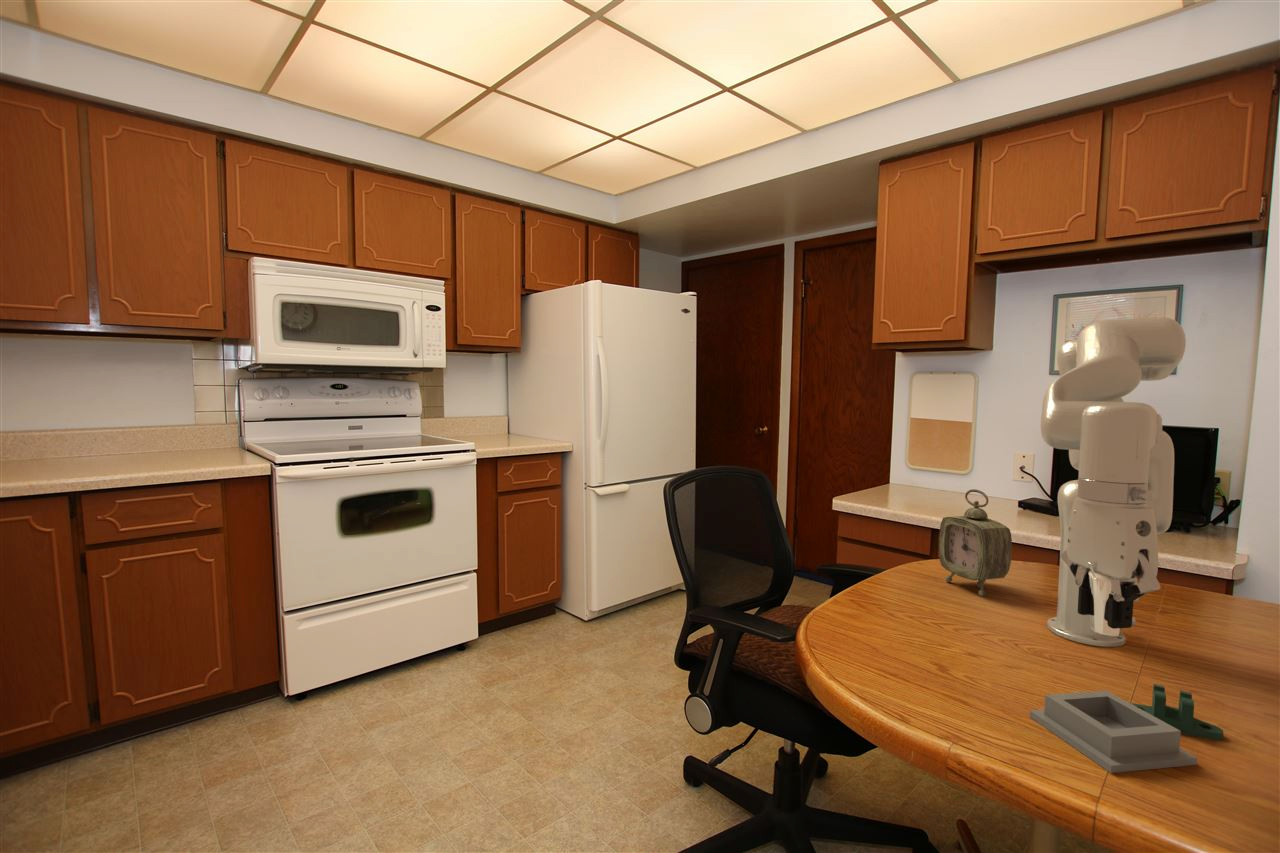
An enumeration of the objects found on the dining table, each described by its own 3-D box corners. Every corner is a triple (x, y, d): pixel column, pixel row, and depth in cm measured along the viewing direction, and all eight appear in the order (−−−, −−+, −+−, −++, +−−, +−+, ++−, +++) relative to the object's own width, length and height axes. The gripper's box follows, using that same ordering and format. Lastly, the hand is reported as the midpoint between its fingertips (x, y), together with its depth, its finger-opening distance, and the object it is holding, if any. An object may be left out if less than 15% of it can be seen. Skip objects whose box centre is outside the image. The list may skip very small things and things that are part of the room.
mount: (1220, 732, 84) (1222, 699, 84) (1225, 746, 81) (1227, 712, 80) (1122, 706, 91) (1124, 675, 91) (1123, 718, 88) (1125, 686, 87)
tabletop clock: (937, 580, 151) (941, 485, 149) (966, 578, 153) (970, 484, 151) (982, 600, 137) (987, 495, 135) (1013, 597, 139) (1018, 494, 137)
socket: (1104, 710, 89) (1106, 685, 89) (1196, 764, 76) (1198, 735, 76) (1029, 716, 87) (1031, 691, 87) (1110, 773, 75) (1112, 743, 74)
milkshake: (1071, 625, 84) (1075, 558, 83) (1106, 624, 84) (1110, 557, 84) (1098, 639, 79) (1103, 567, 79) (1135, 638, 80) (1140, 567, 79)
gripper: (1199, 504, 73) (1190, 645, 74) (1082, 482, 89) (1076, 598, 90) (1147, 505, 72) (1138, 648, 73) (1038, 483, 88) (1032, 600, 90)
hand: (1103, 619), depth 82 cm, fingers closed on milkshake, 4 cm apart
